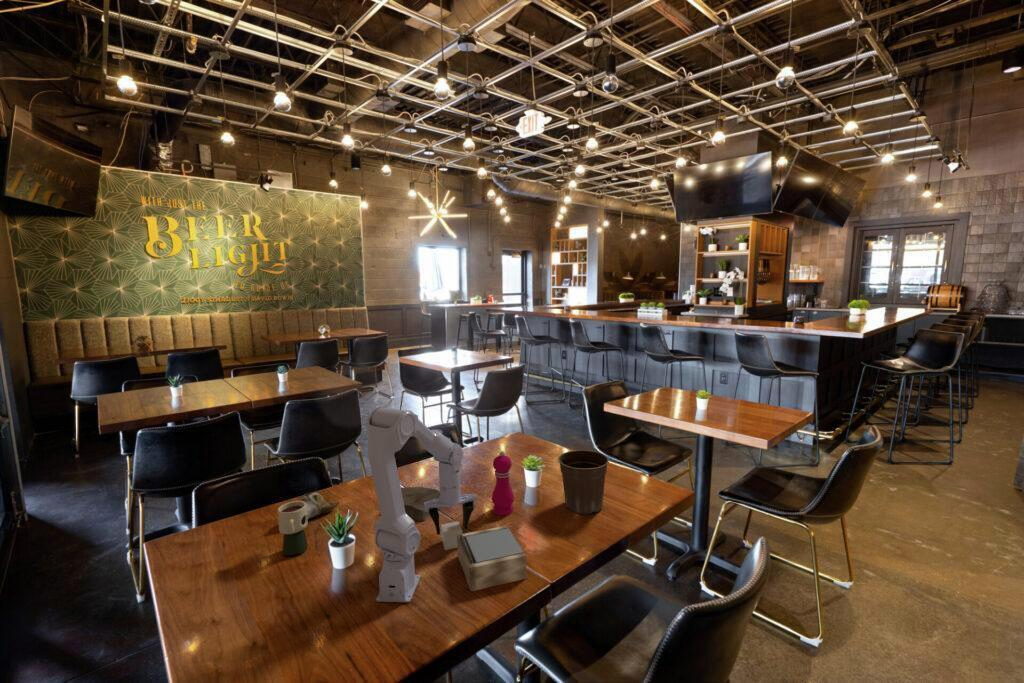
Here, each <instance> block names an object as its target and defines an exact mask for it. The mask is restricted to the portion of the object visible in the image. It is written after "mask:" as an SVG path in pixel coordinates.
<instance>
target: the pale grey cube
mask: <svg viewBox="0 0 1024 683" xmlns="http://www.w3.org/2000/svg"><path fill="white" fill-rule="evenodd" d="M440 527H441V529H440V533H441V543H442V545H443V546H442V547H443V548H444V551H447V550H452V549H458V545H457V535H460V534H463V528H462V526H461V524H460V521H458V520H457V521H453V522H446V523H443V524H441V525H440Z"/></svg>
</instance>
